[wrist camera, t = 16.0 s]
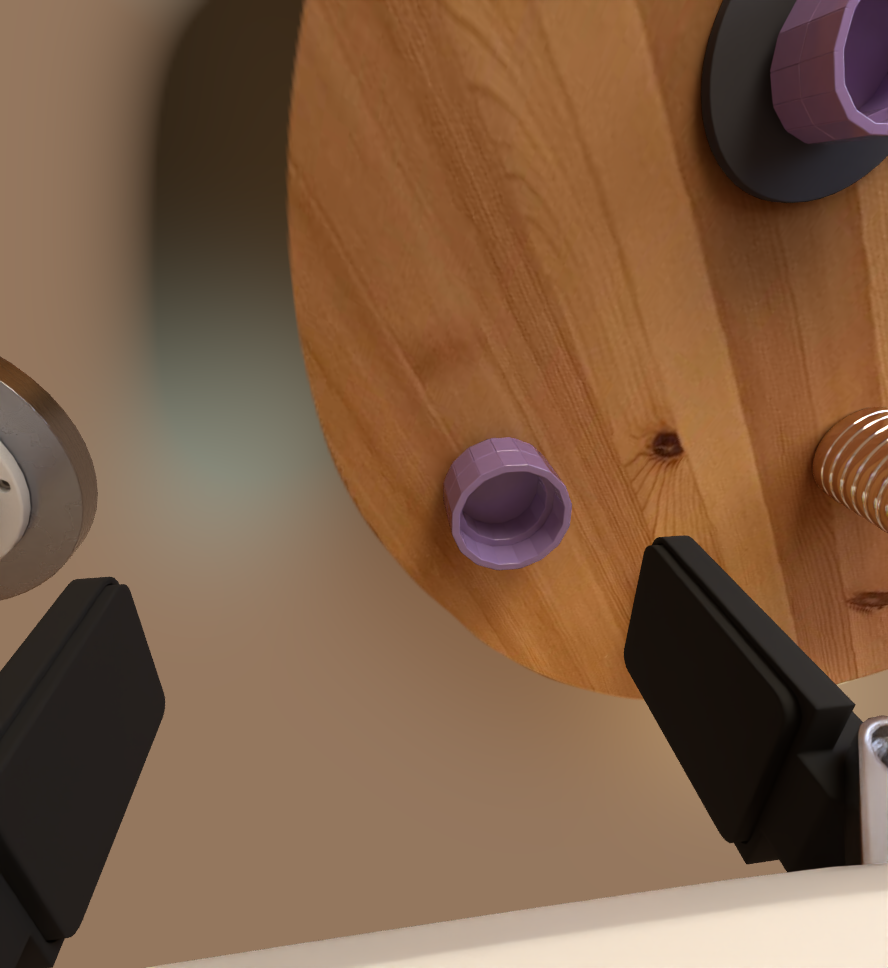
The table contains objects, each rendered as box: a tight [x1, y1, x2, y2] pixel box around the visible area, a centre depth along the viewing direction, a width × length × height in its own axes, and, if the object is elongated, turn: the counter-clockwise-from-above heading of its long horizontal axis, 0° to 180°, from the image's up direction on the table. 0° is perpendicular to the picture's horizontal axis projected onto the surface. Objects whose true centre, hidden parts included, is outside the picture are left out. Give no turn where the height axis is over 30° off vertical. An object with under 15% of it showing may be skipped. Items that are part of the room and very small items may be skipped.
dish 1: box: [443, 438, 572, 570], centre depth 33 cm, size 7×7×4 cm
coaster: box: [701, 0, 888, 203], centre depth 26 cm, size 12×12×1 cm
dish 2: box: [770, 0, 888, 144], centre depth 24 cm, size 7×7×4 cm
